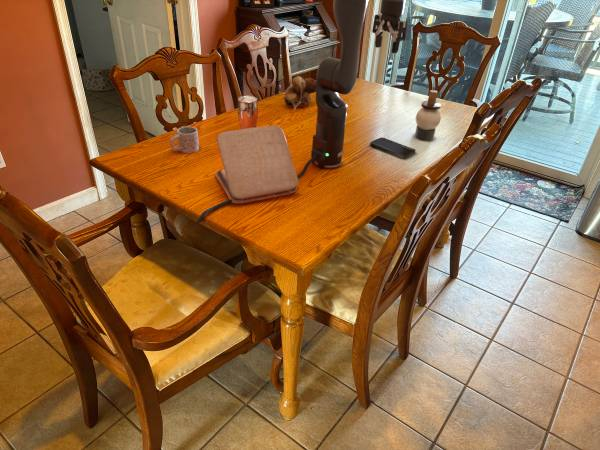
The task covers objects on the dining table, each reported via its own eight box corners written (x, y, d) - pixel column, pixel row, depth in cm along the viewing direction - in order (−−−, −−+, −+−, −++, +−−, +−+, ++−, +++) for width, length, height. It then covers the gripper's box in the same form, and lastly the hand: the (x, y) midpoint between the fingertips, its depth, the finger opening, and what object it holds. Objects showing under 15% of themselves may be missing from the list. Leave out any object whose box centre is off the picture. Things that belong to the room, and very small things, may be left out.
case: (232, 208, 123) (230, 154, 114) (213, 173, 139) (209, 124, 130) (300, 195, 131) (303, 144, 122) (274, 164, 146) (275, 117, 137)
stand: (424, 142, 167) (426, 132, 165) (410, 135, 172) (412, 125, 170) (437, 138, 171) (439, 128, 168) (423, 132, 175) (426, 122, 173)
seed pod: (329, 91, 190) (308, 72, 196) (303, 90, 179) (281, 69, 185) (316, 117, 198) (295, 98, 204) (290, 118, 187) (269, 97, 193)
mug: (191, 143, 157) (190, 125, 153) (202, 149, 153) (201, 131, 149) (166, 150, 151) (164, 132, 147) (177, 157, 147) (175, 138, 143)
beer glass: (262, 140, 162) (262, 99, 153) (247, 145, 157) (246, 103, 149) (249, 134, 165) (248, 94, 157) (234, 139, 161) (233, 98, 153)
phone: (381, 136, 166) (416, 150, 158) (381, 139, 167) (416, 152, 159) (369, 142, 161) (404, 156, 153) (368, 145, 162) (404, 159, 154)
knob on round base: (430, 111, 161) (434, 95, 158) (417, 105, 165) (420, 90, 162) (444, 108, 164) (447, 92, 161) (430, 102, 169) (433, 87, 165)
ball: (425, 136, 165) (431, 112, 160) (408, 127, 171) (413, 104, 166) (442, 132, 169) (448, 108, 164) (425, 123, 175) (430, 101, 170)
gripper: (370, -5, 151) (364, 46, 160) (400, 2, 141) (391, 56, 150) (387, -5, 154) (380, 44, 163) (417, 1, 145) (408, 54, 154)
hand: (385, 50), depth 157 cm, fingers open, 8 cm apart
